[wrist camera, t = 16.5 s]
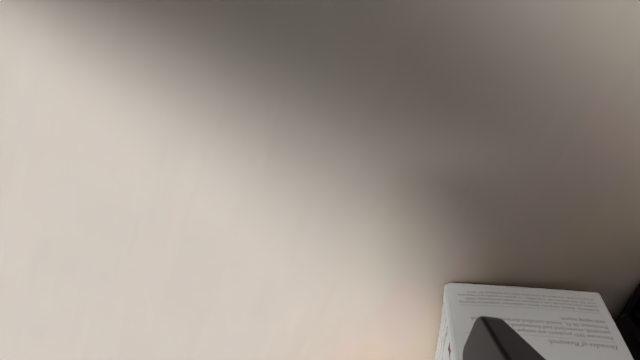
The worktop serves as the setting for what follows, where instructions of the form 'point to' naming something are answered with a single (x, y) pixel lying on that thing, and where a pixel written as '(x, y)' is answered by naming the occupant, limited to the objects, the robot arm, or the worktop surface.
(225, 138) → the worktop surface
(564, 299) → the supplement box
